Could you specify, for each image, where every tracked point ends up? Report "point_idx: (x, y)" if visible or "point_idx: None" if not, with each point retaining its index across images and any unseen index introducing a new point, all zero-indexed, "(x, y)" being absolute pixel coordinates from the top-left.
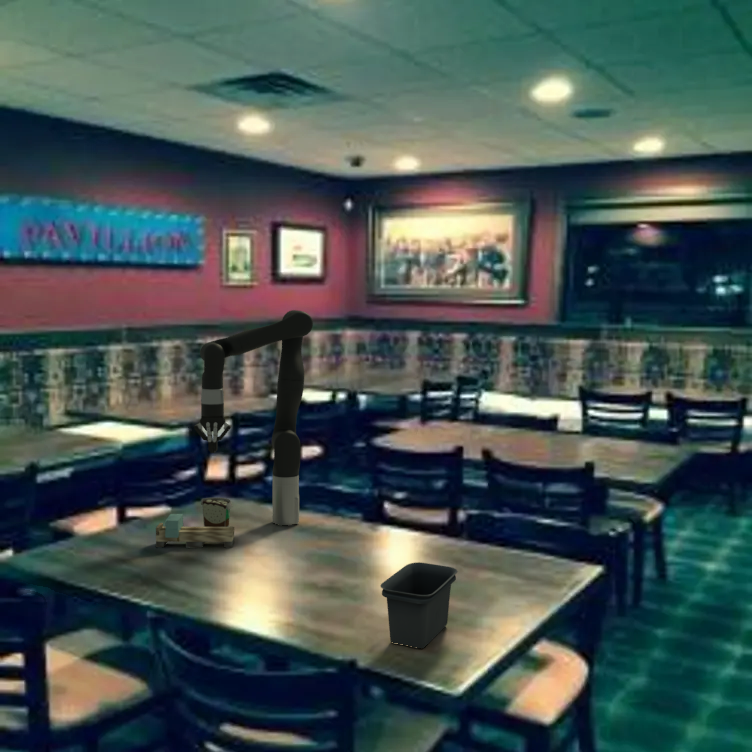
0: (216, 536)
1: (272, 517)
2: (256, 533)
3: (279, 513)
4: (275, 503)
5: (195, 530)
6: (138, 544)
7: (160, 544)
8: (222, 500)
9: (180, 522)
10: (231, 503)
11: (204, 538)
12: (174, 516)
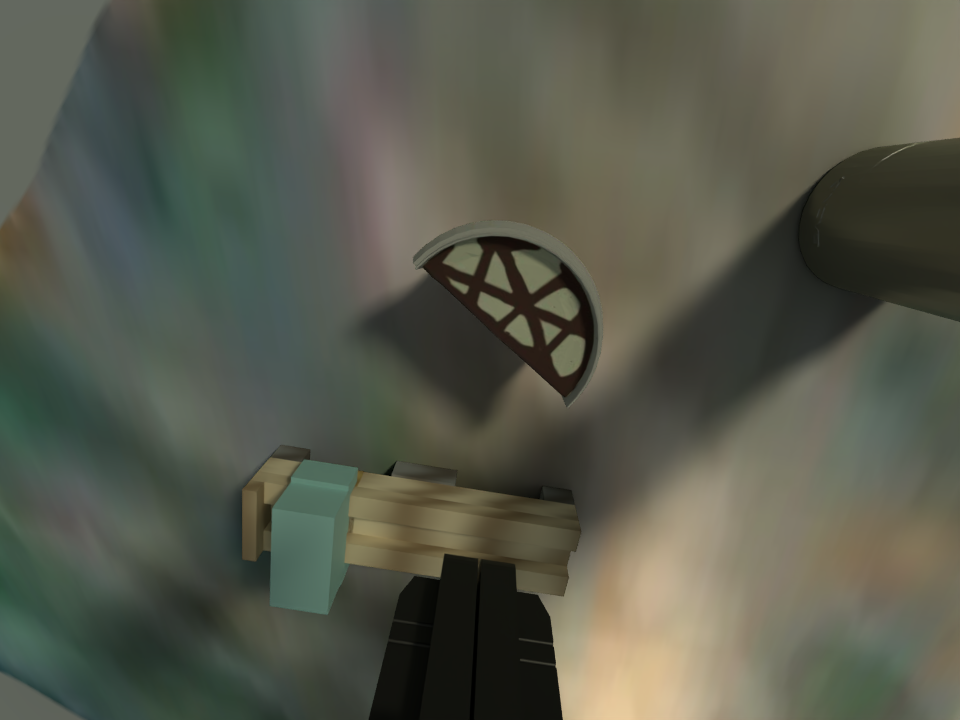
0: None
1: (816, 219)
2: (680, 385)
3: (862, 290)
4: (885, 279)
5: (412, 557)
6: (203, 458)
7: None
8: (550, 259)
9: (338, 553)
10: (600, 351)
11: None
12: (299, 552)
